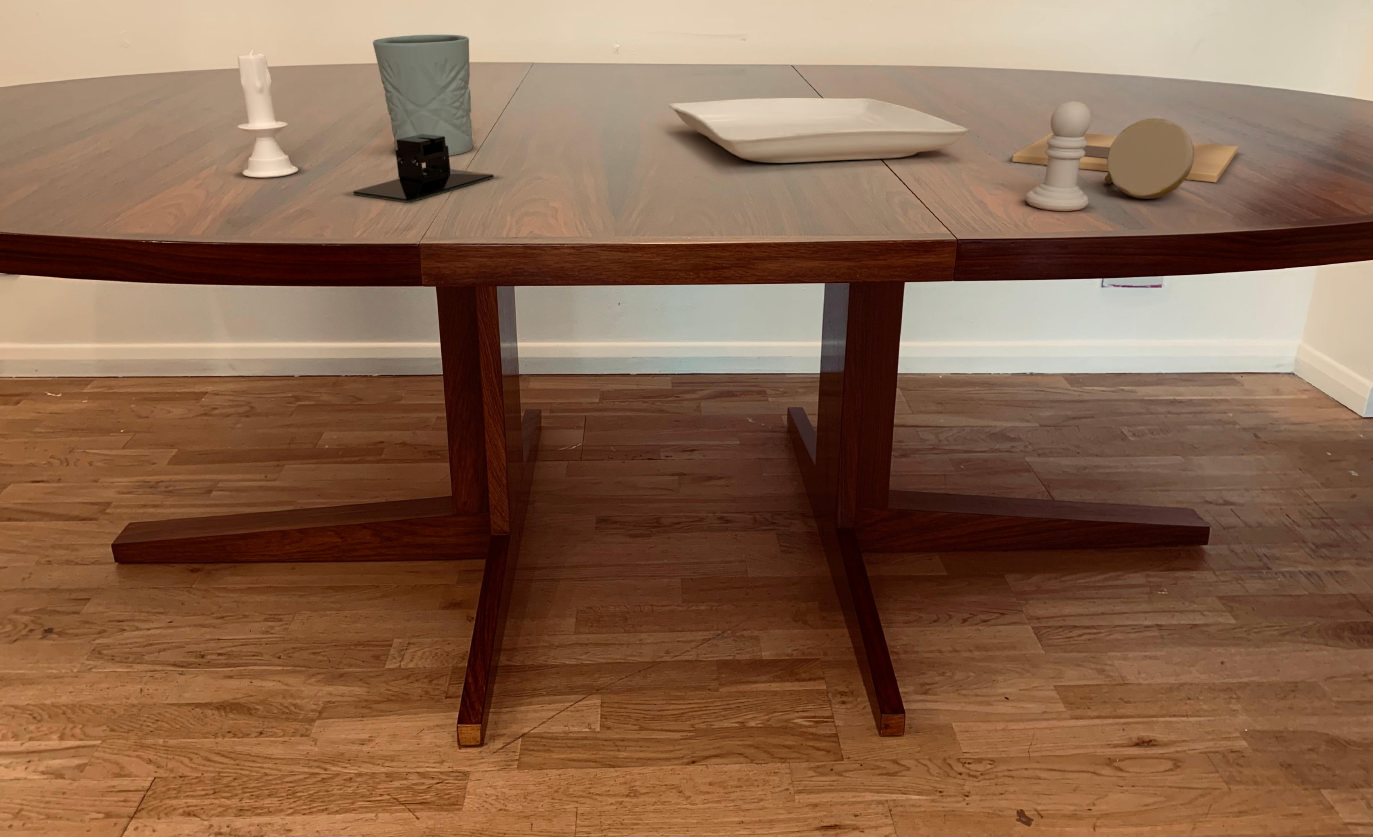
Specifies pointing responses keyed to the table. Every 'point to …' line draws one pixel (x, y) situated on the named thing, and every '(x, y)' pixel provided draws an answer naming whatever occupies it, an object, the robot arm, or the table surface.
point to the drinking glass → (427, 87)
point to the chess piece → (1063, 160)
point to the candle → (261, 120)
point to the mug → (1150, 158)
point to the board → (1206, 156)
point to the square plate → (817, 128)
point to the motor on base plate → (422, 171)
